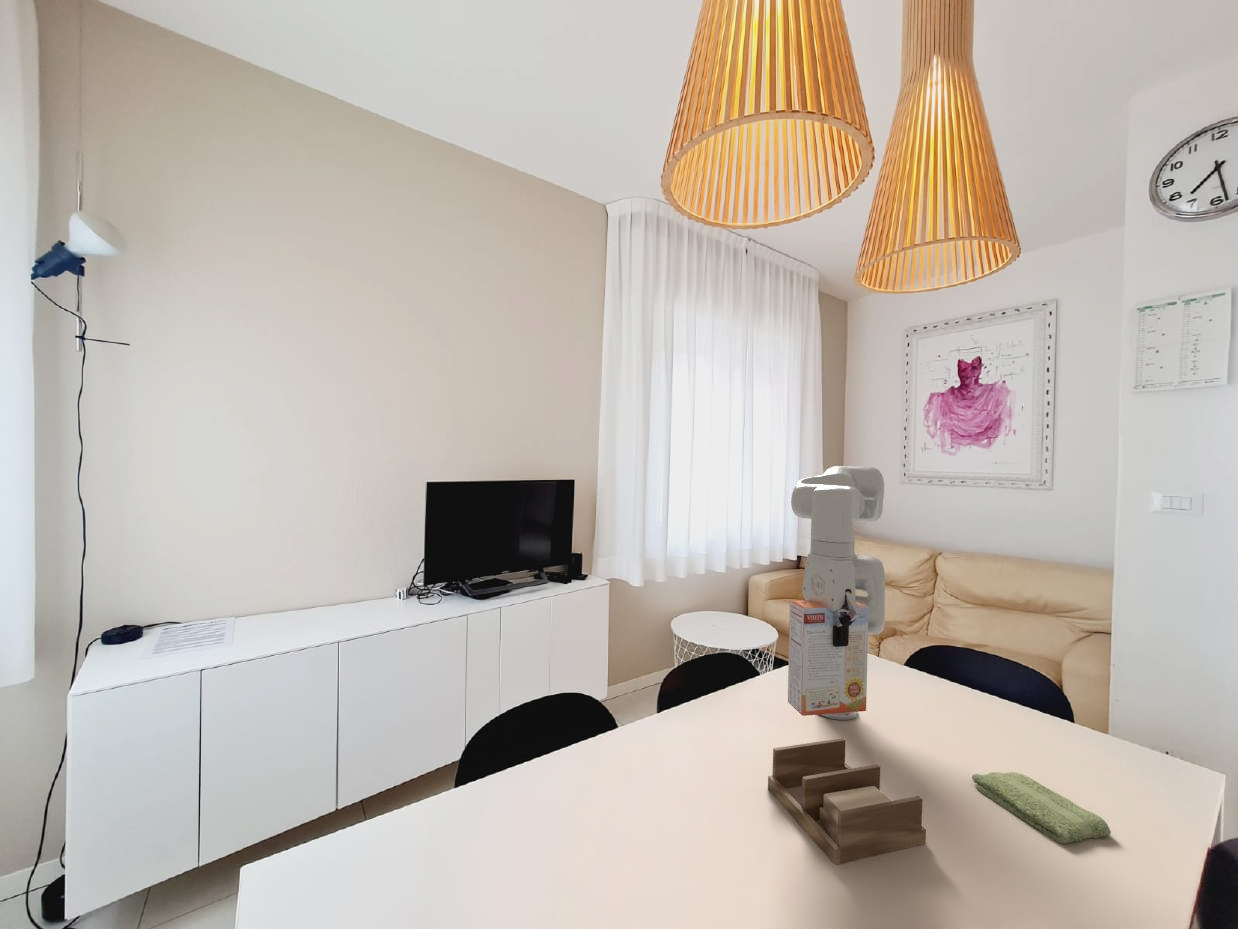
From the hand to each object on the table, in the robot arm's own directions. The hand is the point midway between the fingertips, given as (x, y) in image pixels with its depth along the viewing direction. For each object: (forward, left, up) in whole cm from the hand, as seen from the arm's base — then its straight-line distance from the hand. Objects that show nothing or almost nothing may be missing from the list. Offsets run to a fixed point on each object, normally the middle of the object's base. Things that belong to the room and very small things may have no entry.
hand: (827, 638), depth 96 cm
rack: (+4, 0, -31) cm, 32 cm away
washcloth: (+13, +39, -32) cm, 52 cm away
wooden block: (+10, 0, -32) cm, 33 cm away
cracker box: (0, 0, -14) cm, 14 cm away
